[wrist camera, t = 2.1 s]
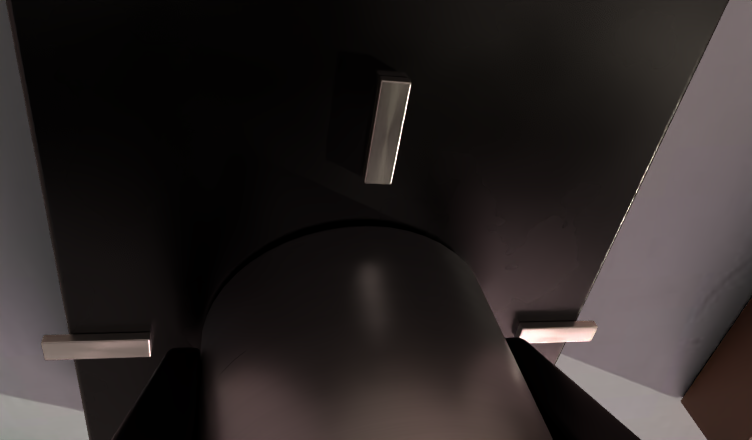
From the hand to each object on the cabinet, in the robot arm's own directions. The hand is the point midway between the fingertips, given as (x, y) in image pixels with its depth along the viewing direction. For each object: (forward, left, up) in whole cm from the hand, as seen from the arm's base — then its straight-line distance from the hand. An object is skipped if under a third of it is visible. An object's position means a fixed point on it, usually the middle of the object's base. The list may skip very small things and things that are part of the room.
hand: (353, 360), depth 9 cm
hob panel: (0, 0, -4) cm, 4 cm away
